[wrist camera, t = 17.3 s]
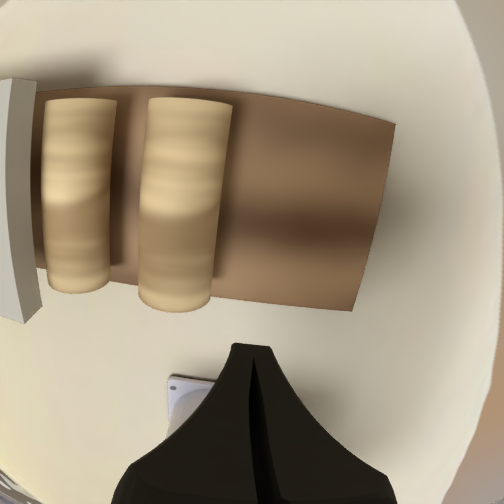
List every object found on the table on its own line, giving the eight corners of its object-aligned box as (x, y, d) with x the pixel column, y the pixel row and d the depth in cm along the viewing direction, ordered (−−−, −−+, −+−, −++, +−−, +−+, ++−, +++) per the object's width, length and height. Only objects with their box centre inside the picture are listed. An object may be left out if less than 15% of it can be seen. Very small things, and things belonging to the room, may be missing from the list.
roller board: (348, 304, 21) (387, 383, 13) (-43, 243, 19) (-101, 279, 12) (388, 124, 17) (468, 125, 9) (-48, 110, 15) (-116, 119, 8)
